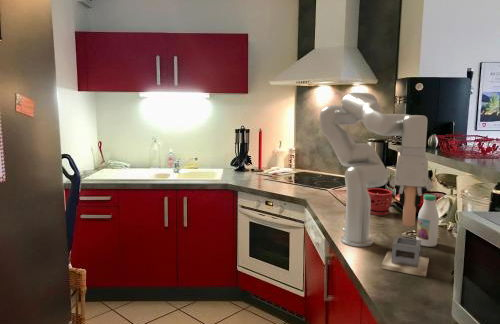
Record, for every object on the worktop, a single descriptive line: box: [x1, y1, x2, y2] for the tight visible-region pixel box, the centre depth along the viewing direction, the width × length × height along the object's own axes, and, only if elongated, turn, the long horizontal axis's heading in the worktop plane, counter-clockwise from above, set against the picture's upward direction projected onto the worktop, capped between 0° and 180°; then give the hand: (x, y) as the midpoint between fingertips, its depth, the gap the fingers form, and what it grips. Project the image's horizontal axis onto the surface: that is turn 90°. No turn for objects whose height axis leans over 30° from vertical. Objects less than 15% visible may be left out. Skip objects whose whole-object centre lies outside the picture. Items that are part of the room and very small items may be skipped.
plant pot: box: [367, 187, 393, 216], centre depth 206 cm, size 13×13×12 cm
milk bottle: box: [415, 193, 440, 247], centre depth 161 cm, size 8×8×20 cm
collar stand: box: [380, 236, 430, 277], centre depth 139 cm, size 14×14×8 cm
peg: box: [401, 186, 418, 227], centre depth 137 cm, size 4×4×16 cm
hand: (409, 205), depth 137 cm, fingers closed on peg, 4 cm apart
